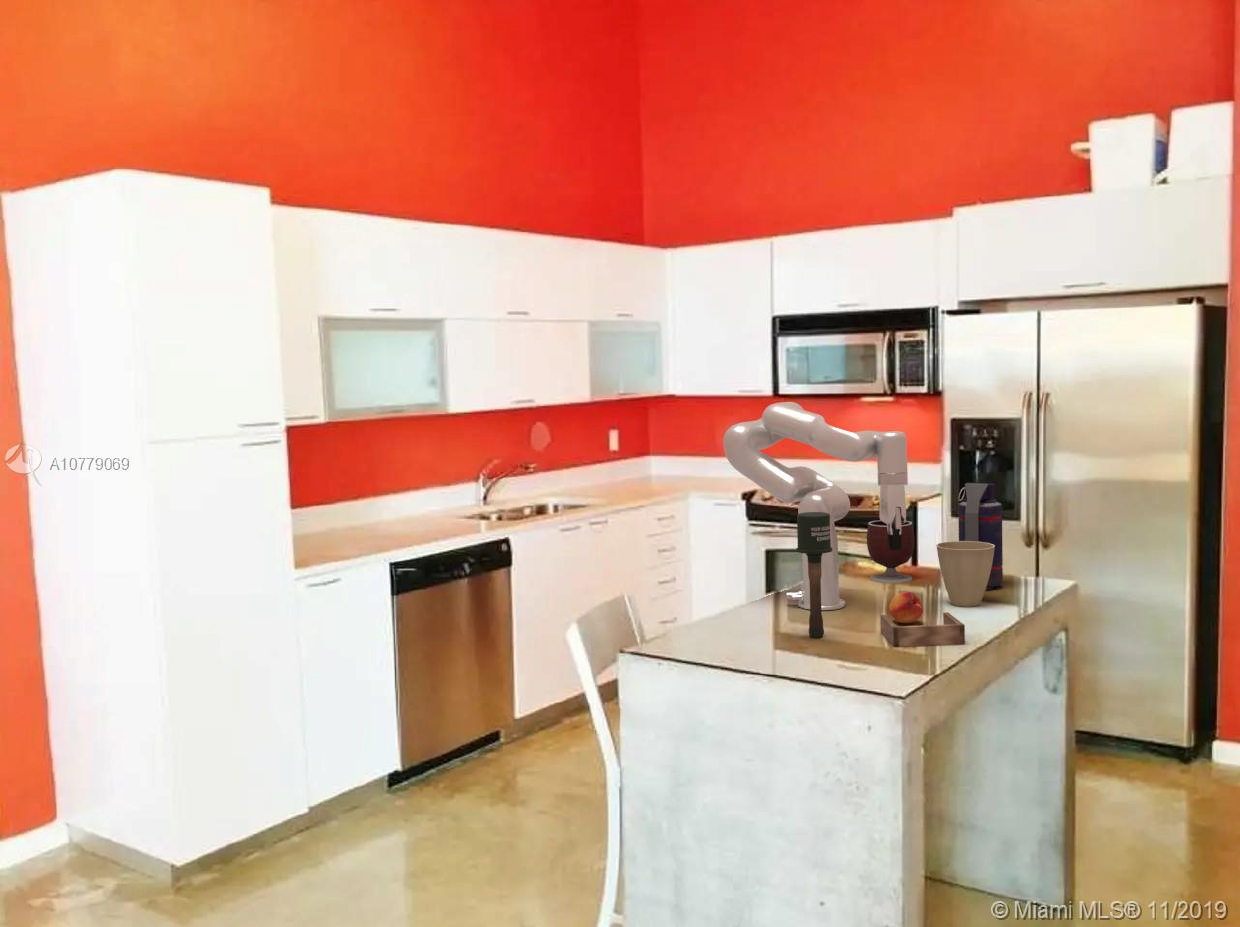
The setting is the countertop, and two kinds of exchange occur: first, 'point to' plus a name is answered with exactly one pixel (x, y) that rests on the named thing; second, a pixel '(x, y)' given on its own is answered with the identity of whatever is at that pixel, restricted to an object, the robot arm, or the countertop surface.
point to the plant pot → (965, 570)
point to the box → (924, 633)
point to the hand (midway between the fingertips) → (894, 549)
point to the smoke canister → (983, 524)
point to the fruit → (905, 607)
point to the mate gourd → (889, 551)
